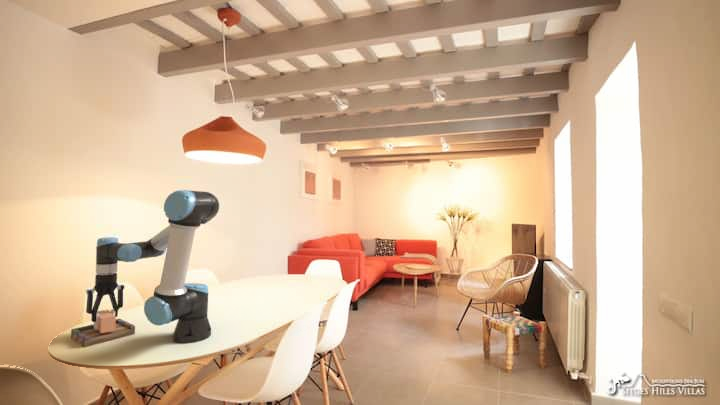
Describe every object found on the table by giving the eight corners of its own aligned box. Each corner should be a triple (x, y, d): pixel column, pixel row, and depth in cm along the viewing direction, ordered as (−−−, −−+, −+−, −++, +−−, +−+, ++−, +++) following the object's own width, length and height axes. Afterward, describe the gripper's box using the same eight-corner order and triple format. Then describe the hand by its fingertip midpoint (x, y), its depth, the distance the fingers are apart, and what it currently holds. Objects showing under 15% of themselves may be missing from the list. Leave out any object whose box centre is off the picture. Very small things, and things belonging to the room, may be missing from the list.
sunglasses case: (115, 330, 145) (115, 316, 145) (100, 333, 141) (101, 318, 141) (107, 322, 154) (107, 309, 154) (93, 325, 150) (94, 311, 150)
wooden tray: (134, 334, 151) (135, 325, 151) (84, 347, 136) (85, 338, 136) (119, 326, 160) (119, 318, 160) (70, 338, 145) (71, 329, 145)
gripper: (126, 269, 157) (124, 319, 157) (77, 275, 142) (74, 330, 142) (133, 271, 153) (131, 323, 153) (83, 277, 138) (81, 335, 138)
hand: (104, 326), depth 147 cm, fingers closed on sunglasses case, 5 cm apart
